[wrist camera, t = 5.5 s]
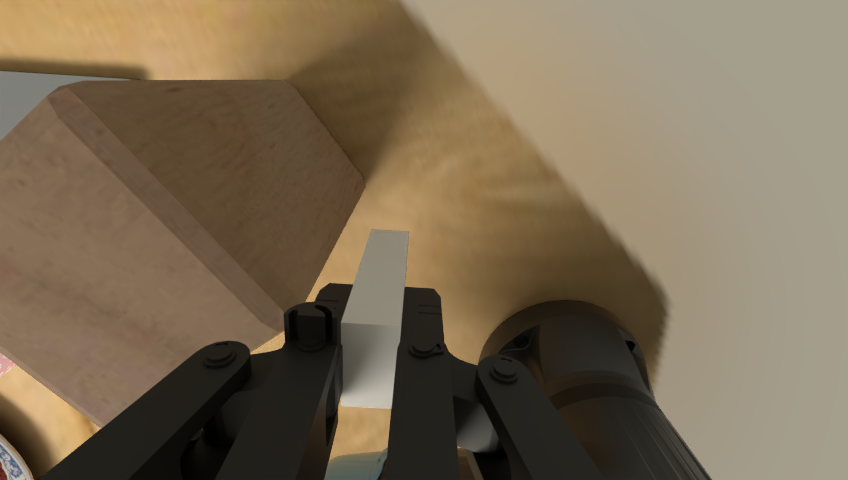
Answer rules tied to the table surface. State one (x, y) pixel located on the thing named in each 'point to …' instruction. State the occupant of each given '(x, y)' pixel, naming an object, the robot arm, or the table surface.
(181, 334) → the block
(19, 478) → the ceramic plate
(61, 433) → the table surface
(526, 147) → the table surface
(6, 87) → the mat
